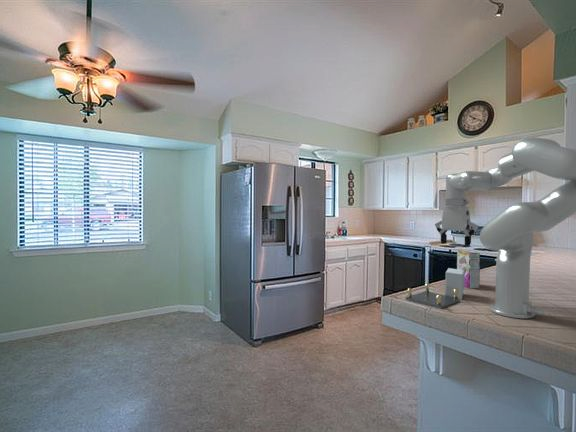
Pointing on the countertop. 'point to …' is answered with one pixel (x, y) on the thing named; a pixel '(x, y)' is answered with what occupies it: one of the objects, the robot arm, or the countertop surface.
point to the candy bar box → (469, 267)
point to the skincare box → (454, 282)
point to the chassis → (433, 298)
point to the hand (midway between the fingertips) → (455, 244)
